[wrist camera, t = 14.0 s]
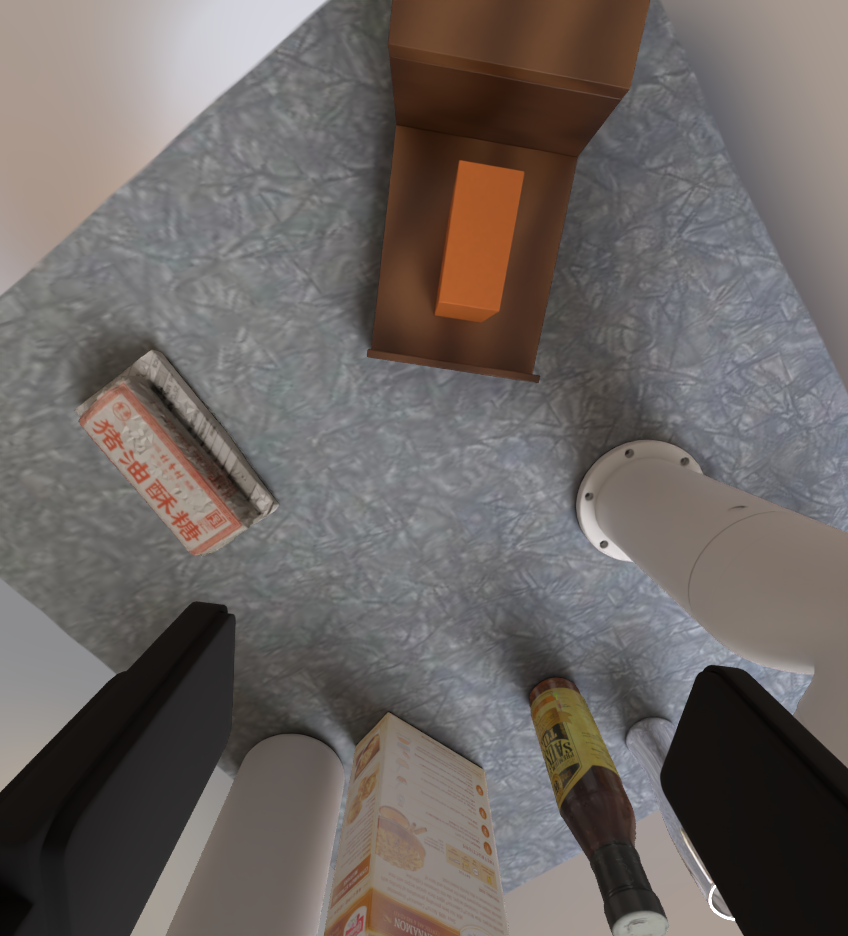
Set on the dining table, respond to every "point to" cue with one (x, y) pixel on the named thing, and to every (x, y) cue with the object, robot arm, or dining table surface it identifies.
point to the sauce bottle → (595, 806)
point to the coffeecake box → (415, 842)
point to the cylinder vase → (268, 845)
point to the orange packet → (478, 241)
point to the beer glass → (650, 752)
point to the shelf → (491, 157)
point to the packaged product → (176, 455)
